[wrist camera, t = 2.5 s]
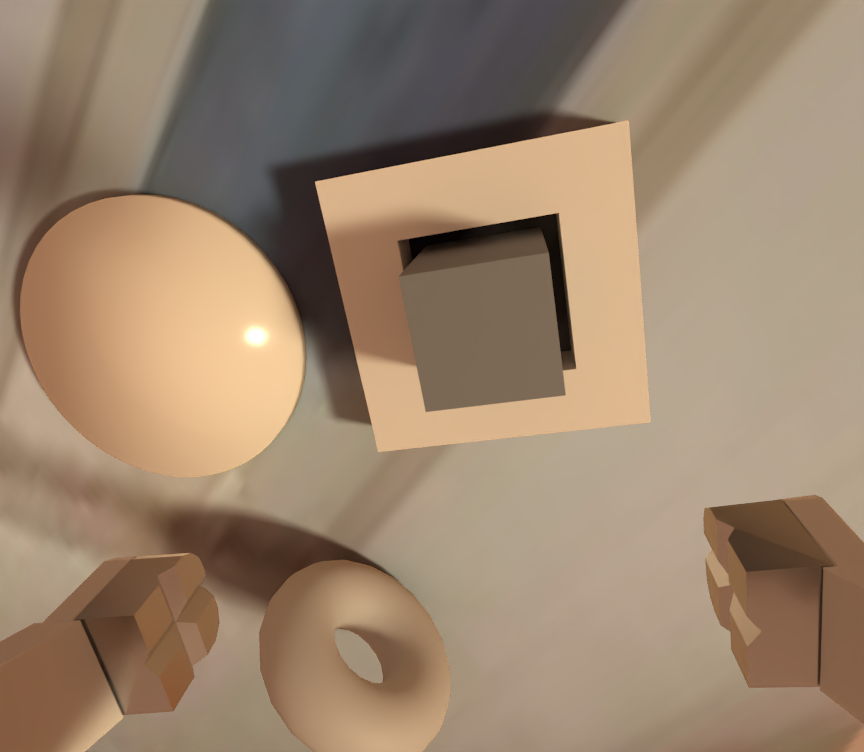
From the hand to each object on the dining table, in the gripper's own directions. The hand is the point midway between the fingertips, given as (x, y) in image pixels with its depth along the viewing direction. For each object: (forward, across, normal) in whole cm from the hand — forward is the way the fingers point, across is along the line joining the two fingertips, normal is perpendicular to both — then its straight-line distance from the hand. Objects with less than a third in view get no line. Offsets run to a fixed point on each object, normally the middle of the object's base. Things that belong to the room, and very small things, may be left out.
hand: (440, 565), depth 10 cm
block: (+19, 0, 0) cm, 19 cm away
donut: (+20, +8, +15) cm, 26 cm away
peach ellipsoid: (+19, +16, 0) cm, 25 cm away
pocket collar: (+19, 0, 0) cm, 19 cm away
